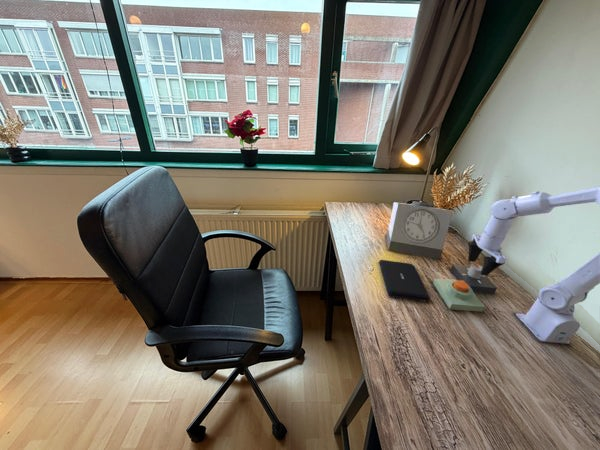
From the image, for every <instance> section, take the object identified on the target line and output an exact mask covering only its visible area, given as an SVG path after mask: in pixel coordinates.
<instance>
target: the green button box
mask: <svg viewBox="0 0 600 450" xmlns="http://www.w3.org/2000/svg"><path fill="white" fill-rule="evenodd" d="M456 280H457V279H449V278H437V277H436V278H434V280H433V282H432V284H433V285H434V287H435V289H436V290H437V292H438V293H439V295H440V296H441V298H442V300H443V301H444V303H445V304H446V306H447V307H448V309H449V310H455V311H457V310H458V311H468V312H481V313H482V312H483V311H484V309H485V308H486V307H485V304H484V303H482V301H481V300H480V299H479V297H478V296H477V295H476V294H475V292H473V290H472V289H471V288H470V286H469V288H468V290H467V292H460V291H458V290H456V289H455V288H454V287H453V284H454V282H455V281H456ZM461 281H463V280H461ZM464 282H465V281H464Z"/></svg>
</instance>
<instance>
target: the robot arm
mask: <svg viewBox="0 0 600 450" xmlns="http://www.w3.org/2000/svg"><path fill="white" fill-rule="evenodd" d="M590 203H596V204H598V205H600V186H595V187H594V186H593V187H589V188H584V189H580V190H575V191H569V192H565V193H560V194H555V195H552V194H550V193H547V192H544V191H543V192H540V191H532V192H530V194H528V195H527V194H526V195H523V196H518V195H514V196H512V197H511V198H507V199H499V200H498V201H495V202H494V203H493V204H492V205H491V207H490V213H491V215H490V218H489V220H488V222H487V223H486V224H487V225H486V226H485V228H484V230H483V232H482V234H481V235H479V234H472V236H471V239H470V240H471V241H468V242H467V246H468V256H467V257H468V258H467V260H468V262H471V263H472V262H473V263H474V262H476V261H477V260H478V258H479V256H480V255H481V253H482V252H483V251H484V252H486V253H487V254H489V255H490V256H483V265H482V267H483V268H482V270H481V275H485V276H486V277H488V276H489V274H491V273H492V272H494V270H496V269H497V268H500V267H501V266H503V265H505V263H506V261H507V257H506V256H505V255H504V254H503V252H502V249H503V248H502V244H503V242H504V240H505V239H506V237H507V235H508V233H509V231H510V229H511V228H512V225H513V224H514V221H515V220H516V218H517V217H528V216H535V215H542V214H549V213H550V212H552V211H553V210H554V208H556V207H565V206H574V205H583V204H590ZM599 284H600V252H598V253H597V254H595V255H594V256H593V257H592V258H590V259H589V260H587V261H586V262H585V263H583V264H582V265H580V266H579V267H578V268H577V269H575V270H574V271H573V272H572V273H570V274H569V275H567V276H565V277H564V278H562V279H561V280H559V281H557V282H555V283H553V284H551V285H548V286H544V287H542V288H540V290H538V297H537V298H536V299H535V301H534V303H532V305H531V307H530V308H529V310H528V311H527V312H526V313H516V314H515V315H516V317H517V318H518V319H519V320H520V322H522V324H523V325H524V326H526V328H528V330H529V331H530V332H531V333H532V334H533V335H534V336H535V337H536V339H537V340H539V341H540V342H544V343H553V344H565V345H566V344H567V345H568V344H570V343H571V341H570V339H571V338H573V336H574V335H575V334H576V333H577V331H579V329H580V326H581V325H580V323H579V321H578V320H577V319H576V317H575V315H574V313H575V309H576V307H575V305H576V304H579V303H582V302H584V301H586V300H587V298H588V294H589V293H590V292H591V291H592V290H594V289H595V287H597V286H598V285H599Z"/></svg>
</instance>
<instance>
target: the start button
mask: <svg viewBox="0 0 600 450" xmlns="http://www.w3.org/2000/svg"><path fill="white" fill-rule="evenodd" d="M455 280H456V281H455V282H454V284H453V287H454V288H455V289H456V290H458V291H460V292H467V290H468V288H469V285H468V284H467V283H465V282H464V281H461V280H458V279H455Z"/></svg>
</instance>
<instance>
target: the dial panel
mask: <svg viewBox="0 0 600 450" xmlns="http://www.w3.org/2000/svg"><path fill="white" fill-rule="evenodd" d="M470 266H471V265H468V264H466V265H465V264H452V265H451V267H450V271H451V272H452V273H453V275H454V277H456V279H457V280H463V281H465V283H467V284H468V285H469V286H470V288H471V289H472V290H473V293H480V294H481V293H483V294H495V293H496V291H497V289H498V287H497V286H496V285H495V283H493V281H491V280H490V279H489V277H488V276H487V275H482V276H481V277H480V279H475V278H472V277H470V276H469V275H468V274H467V273H468V270H469V268H470Z"/></svg>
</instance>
